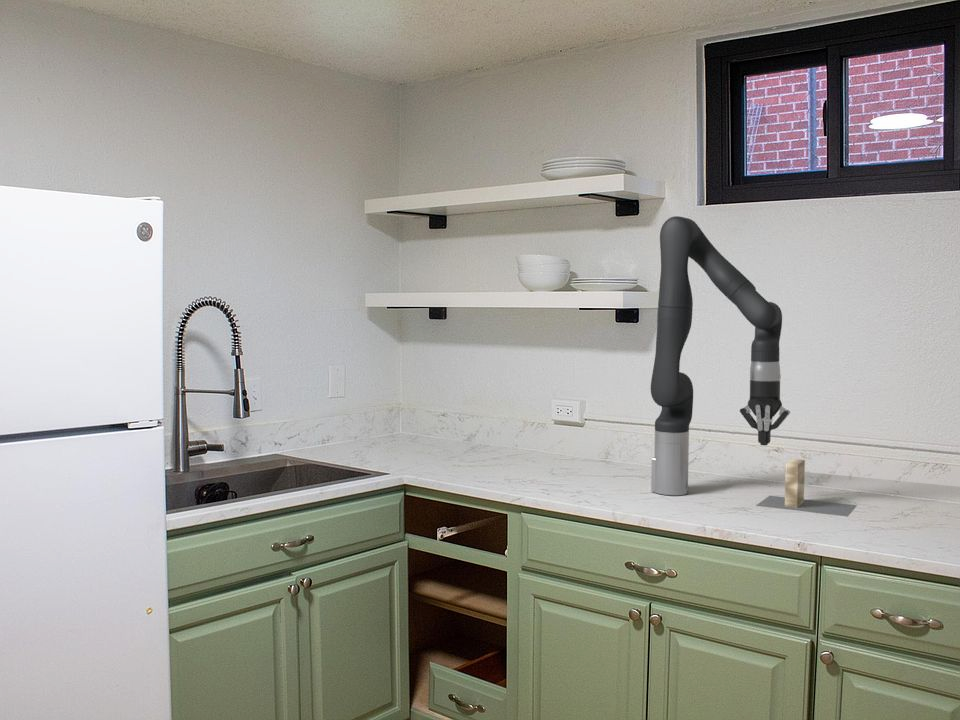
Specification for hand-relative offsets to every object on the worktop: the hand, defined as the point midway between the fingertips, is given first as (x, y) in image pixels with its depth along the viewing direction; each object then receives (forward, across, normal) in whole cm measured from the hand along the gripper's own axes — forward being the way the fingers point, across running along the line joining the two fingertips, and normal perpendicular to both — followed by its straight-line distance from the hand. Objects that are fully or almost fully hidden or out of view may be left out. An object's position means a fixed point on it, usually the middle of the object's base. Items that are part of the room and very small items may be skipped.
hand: (764, 444), depth 237 cm
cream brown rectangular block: (+15, +8, 0) cm, 17 cm away
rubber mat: (+15, +11, 0) cm, 19 cm away
